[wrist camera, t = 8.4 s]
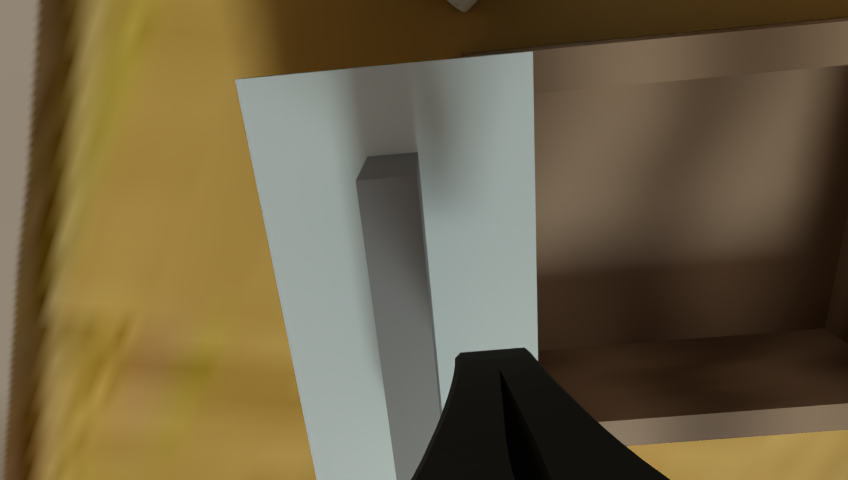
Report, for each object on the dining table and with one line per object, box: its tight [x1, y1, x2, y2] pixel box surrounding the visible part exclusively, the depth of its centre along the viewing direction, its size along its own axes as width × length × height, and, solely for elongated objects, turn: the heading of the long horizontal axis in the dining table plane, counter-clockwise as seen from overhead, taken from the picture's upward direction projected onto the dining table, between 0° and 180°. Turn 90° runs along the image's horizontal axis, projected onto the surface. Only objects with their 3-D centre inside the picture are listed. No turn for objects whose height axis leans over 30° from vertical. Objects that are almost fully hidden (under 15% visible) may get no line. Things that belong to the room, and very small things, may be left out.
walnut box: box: [462, 17, 848, 446], centre depth 17 cm, size 14×12×5 cm
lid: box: [235, 51, 538, 480], centre depth 13 cm, size 7×12×3 cm, turn 5°
